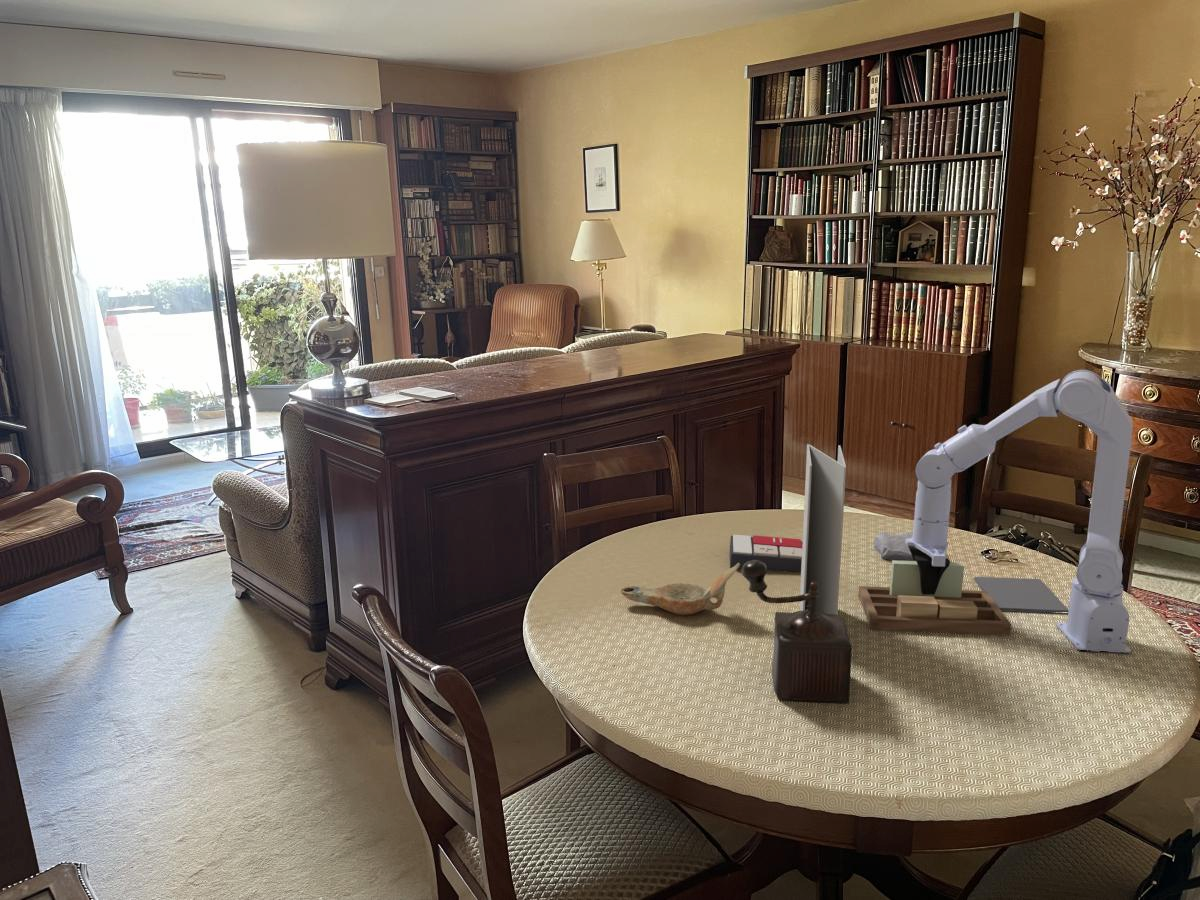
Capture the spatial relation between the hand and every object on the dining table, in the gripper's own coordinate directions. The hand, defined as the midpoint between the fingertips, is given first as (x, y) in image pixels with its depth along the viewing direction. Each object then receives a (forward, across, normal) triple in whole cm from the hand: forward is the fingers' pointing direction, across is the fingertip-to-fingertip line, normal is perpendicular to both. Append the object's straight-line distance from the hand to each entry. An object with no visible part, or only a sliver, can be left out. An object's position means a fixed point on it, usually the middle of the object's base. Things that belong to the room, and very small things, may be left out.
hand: (925, 589), depth 154 cm
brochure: (+3, +10, -20) cm, 22 cm away
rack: (+3, +5, 0) cm, 5 cm away
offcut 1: (+3, +8, -3) cm, 9 cm away
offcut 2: (+3, +8, +3) cm, 9 cm away
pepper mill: (+3, +31, -26) cm, 40 cm away
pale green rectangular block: (+3, 0, 0) cm, 3 cm away
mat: (+3, -5, +18) cm, 19 cm away
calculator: (+3, -19, -27) cm, 33 cm away
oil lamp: (+3, +7, -44) cm, 45 cm away
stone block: (+3, -24, +2) cm, 25 cm away
